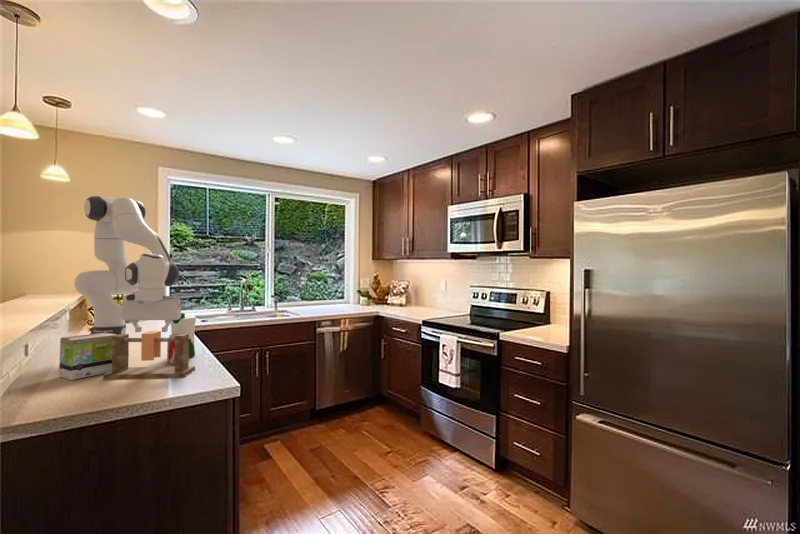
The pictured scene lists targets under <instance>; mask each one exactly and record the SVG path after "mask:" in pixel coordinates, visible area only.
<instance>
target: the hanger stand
mask: <svg viewBox="0 0 800 534" xmlns="http://www.w3.org/2000/svg"><path fill="white" fill-rule="evenodd" d="M129 336H130V335H129V333H126V334H119V335H116V336H113V337H112V371H111V372H108V373H105V374H102V376H103V377H102V378H103V380H106V379H107V378H119V379H151V378H150V377H168V378H185V377H187V376H188V375H190V374H191V373H192V371H193V372H194V371H196V366H195V365H190V366H189V364H190V363H189V361H190V360H189V359H190V357H189V334H179V335H177V336H175V338H169V337H161V338H155V339H154V342H161V343H168V342H175V364H174V366H136V367H135V366H134V367H132V366H131V367H130V366H129V355H130V353H129V350H130V349H129V346H130V345H129V343H142V337H129ZM186 375H187V376H186ZM104 378H106V379H104ZM107 380H108V379H107Z"/></svg>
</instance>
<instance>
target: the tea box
mask: <svg viewBox="0 0 800 534" xmlns="http://www.w3.org/2000/svg"><path fill="white" fill-rule="evenodd" d="M113 336H116V334H111V333H97V334H90V333H89V334H81V335H80V334H79V335H73V336H72V335H71V336H66V337H65V336H64V337H60V340H59V341H60V343H59V344H60V345H59V364H58V365H59V367H58V368H59V369H58V376H59V377H61V378H62V379H66V380H69V381H75V380H78V379H82V378H88V377H94V376H98V375H104V374H106V373H108V372H111V371H112V337H113Z"/></svg>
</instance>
